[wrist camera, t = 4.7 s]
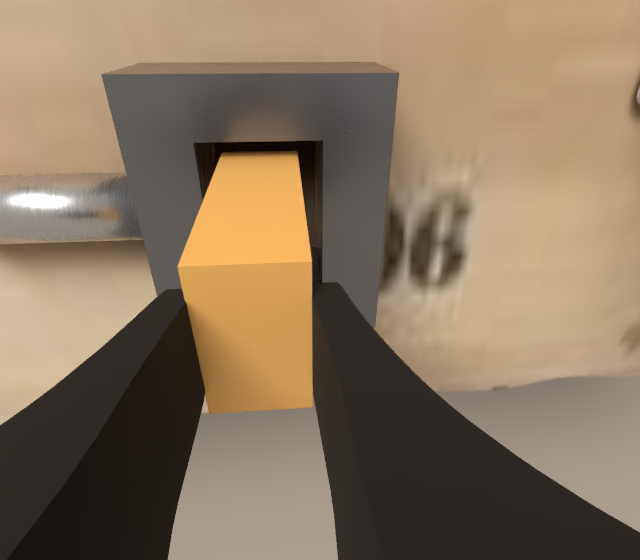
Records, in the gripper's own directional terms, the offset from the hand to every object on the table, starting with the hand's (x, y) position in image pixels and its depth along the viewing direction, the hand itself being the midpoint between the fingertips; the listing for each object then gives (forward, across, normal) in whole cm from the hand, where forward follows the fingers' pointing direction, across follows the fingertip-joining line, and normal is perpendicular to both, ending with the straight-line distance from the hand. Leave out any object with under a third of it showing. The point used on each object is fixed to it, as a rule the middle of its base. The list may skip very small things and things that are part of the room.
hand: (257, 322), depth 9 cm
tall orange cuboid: (+6, 0, 0) cm, 6 cm away
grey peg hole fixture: (+9, +4, 0) cm, 10 cm away
